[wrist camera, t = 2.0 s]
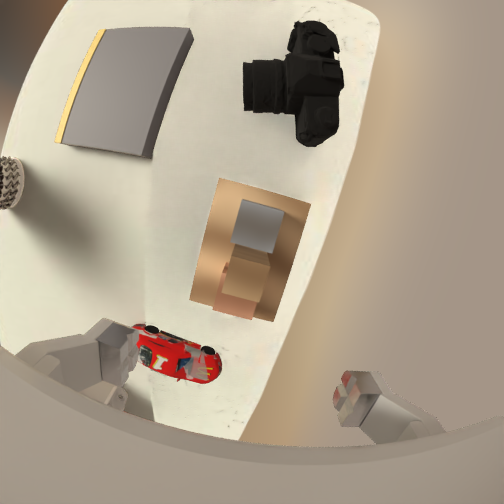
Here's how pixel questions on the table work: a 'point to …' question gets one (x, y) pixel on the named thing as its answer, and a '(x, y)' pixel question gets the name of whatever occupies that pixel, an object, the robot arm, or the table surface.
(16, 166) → the decorative candle
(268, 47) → the table surface
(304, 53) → the film camera
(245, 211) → the gray cube
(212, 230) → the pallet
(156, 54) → the plate
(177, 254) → the table surface
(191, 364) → the race car
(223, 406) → the table surface
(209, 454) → the robot arm
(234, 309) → the terracotta crate
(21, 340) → the table surface
